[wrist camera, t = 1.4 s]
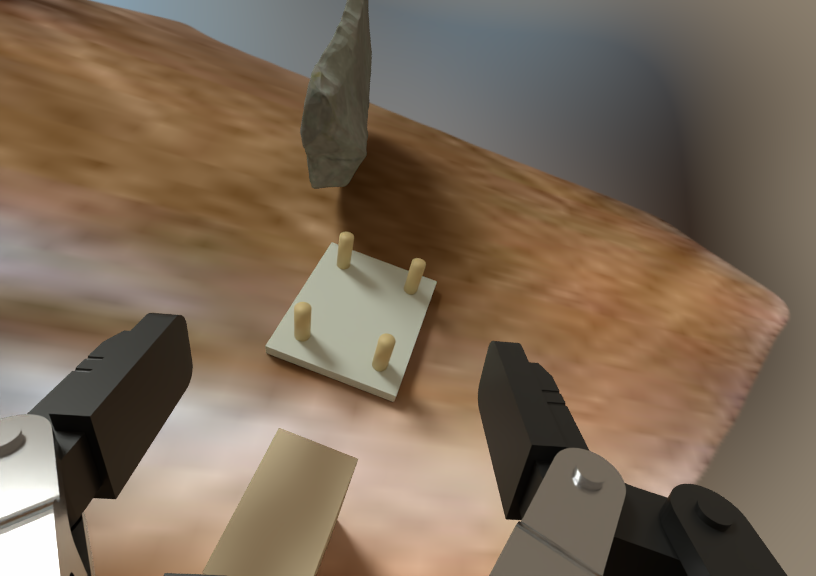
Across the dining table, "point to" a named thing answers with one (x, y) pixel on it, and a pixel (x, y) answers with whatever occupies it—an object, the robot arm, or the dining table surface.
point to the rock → (339, 102)
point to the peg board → (355, 319)
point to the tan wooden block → (285, 511)
